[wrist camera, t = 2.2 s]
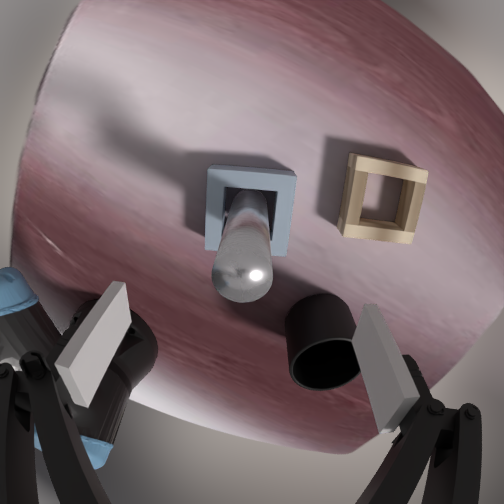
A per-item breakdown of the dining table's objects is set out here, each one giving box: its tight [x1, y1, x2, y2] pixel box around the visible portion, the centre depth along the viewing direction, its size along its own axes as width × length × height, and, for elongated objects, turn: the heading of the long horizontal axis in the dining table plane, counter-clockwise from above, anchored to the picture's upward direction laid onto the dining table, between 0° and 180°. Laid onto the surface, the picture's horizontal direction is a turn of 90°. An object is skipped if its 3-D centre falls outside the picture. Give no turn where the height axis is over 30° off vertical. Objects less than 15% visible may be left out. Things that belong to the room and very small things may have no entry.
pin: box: [212, 189, 273, 303], centre depth 27 cm, size 4×4×16 cm
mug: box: [285, 294, 361, 391], centre depth 37 cm, size 9×12×9 cm
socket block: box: [205, 164, 297, 257], centre depth 33 cm, size 9×9×3 cm
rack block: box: [337, 153, 429, 244], centre depth 32 cm, size 9×9×3 cm
